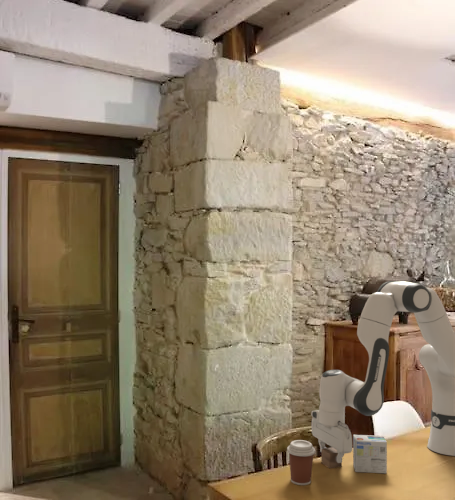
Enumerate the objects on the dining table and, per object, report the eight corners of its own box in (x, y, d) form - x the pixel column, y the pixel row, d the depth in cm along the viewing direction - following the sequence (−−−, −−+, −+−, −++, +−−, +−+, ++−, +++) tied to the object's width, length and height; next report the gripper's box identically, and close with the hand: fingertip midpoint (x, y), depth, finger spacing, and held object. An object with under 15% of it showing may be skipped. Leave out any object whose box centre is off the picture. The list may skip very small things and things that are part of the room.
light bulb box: (383, 466, 183) (383, 435, 183) (387, 474, 177) (387, 441, 177) (352, 464, 184) (352, 433, 184) (354, 472, 178) (355, 440, 178)
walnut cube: (333, 461, 187) (333, 447, 187) (341, 466, 183) (341, 452, 183) (321, 463, 185) (321, 448, 185) (329, 468, 181) (329, 453, 181)
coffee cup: (319, 486, 166) (319, 448, 167) (291, 487, 165) (291, 449, 165) (309, 474, 175) (310, 438, 176) (283, 475, 174) (283, 439, 174)
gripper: (357, 425, 176) (356, 467, 176) (323, 408, 195) (322, 446, 194) (341, 427, 173) (340, 469, 173) (308, 410, 192) (307, 448, 192)
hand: (330, 457), depth 184 cm, fingers open, 8 cm apart
